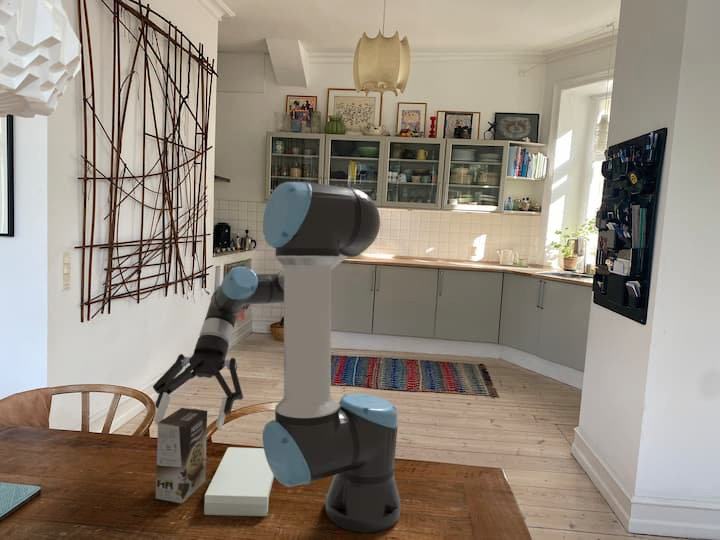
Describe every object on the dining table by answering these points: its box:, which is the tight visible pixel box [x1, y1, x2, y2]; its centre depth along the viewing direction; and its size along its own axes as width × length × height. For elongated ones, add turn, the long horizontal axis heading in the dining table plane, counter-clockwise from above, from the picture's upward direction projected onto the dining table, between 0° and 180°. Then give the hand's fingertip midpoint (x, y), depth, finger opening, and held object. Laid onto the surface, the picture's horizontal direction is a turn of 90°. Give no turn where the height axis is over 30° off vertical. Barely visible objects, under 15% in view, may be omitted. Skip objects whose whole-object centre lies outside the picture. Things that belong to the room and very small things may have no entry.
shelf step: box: [203, 446, 275, 517], centre depth 103 cm, size 12×20×4 cm, turn 3°
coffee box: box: [155, 407, 208, 504], centre depth 101 cm, size 9×6×16 cm
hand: (187, 425), depth 105 cm, fingers open, 13 cm apart
